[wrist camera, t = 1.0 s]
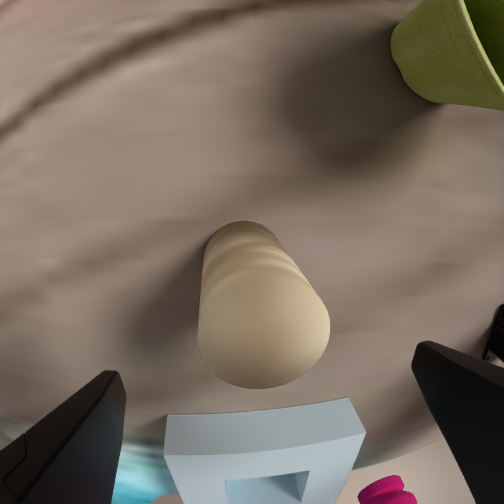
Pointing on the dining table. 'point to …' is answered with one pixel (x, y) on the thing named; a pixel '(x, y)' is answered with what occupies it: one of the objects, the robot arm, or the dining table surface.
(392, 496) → the pepper mill
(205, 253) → the birch peg
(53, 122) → the dining table surface
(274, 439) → the socket block
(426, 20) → the plant pot
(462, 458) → the robot arm
